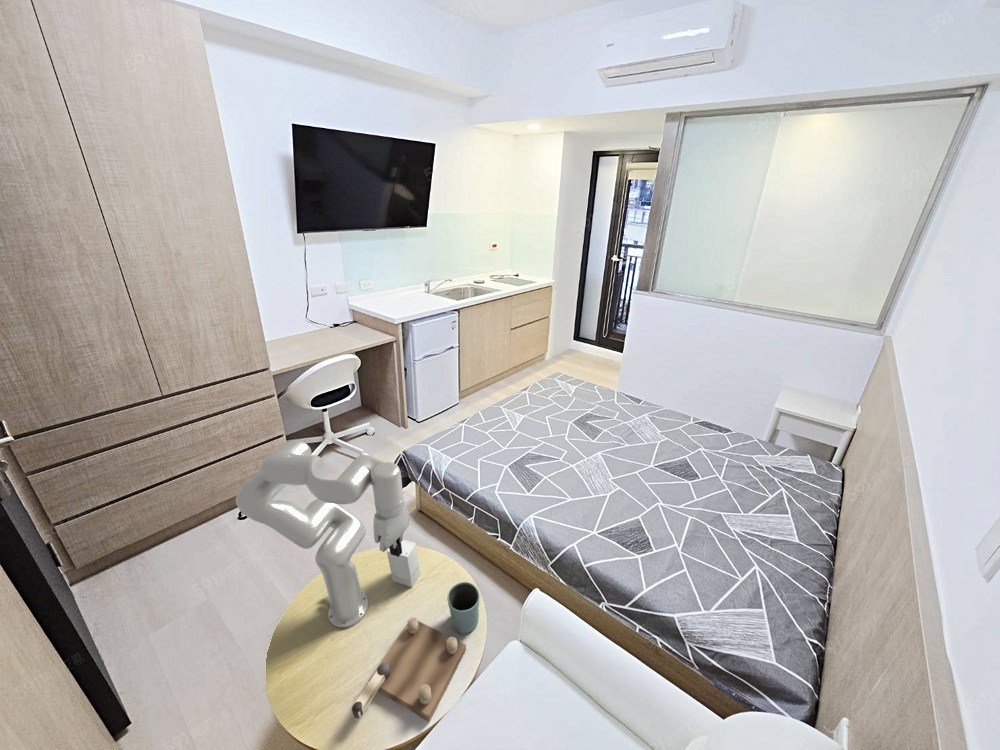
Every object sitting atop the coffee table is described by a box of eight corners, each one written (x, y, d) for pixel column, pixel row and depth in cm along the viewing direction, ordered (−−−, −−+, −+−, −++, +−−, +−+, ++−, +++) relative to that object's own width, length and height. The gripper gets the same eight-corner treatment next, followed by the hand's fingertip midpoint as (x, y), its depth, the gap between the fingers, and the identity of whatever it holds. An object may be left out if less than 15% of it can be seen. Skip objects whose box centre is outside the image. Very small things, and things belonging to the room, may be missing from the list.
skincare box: (420, 573, 147) (417, 542, 141) (411, 589, 142) (407, 557, 135) (400, 567, 150) (396, 536, 143) (391, 582, 144) (386, 550, 138)
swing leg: (383, 666, 116) (382, 660, 115) (392, 671, 115) (391, 665, 114) (350, 714, 105) (348, 709, 104) (359, 721, 104) (358, 715, 103)
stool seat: (370, 686, 114) (367, 672, 111) (412, 623, 131) (410, 610, 128) (429, 722, 107) (427, 708, 104) (466, 650, 123) (465, 637, 120)
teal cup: (475, 639, 126) (474, 614, 121) (444, 632, 128) (442, 607, 123) (483, 609, 135) (482, 584, 130) (454, 603, 137) (453, 579, 132)
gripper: (396, 484, 117) (402, 530, 125) (359, 518, 105) (368, 567, 113) (417, 492, 114) (422, 539, 122) (381, 528, 102) (389, 578, 110)
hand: (396, 553), depth 117 cm, fingers closed
